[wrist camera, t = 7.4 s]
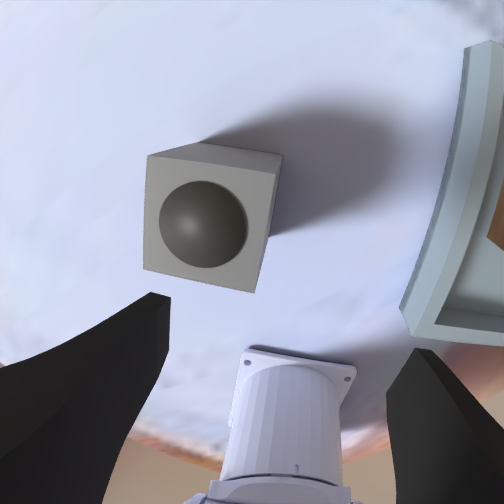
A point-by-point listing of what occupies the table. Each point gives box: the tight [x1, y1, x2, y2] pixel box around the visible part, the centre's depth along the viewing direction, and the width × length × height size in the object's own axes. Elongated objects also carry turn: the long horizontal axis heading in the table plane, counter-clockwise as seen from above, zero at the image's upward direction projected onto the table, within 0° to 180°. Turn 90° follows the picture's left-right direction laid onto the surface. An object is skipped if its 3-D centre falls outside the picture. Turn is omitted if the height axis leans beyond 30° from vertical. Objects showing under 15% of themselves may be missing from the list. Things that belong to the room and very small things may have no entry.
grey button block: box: [143, 142, 283, 293], centre depth 14 cm, size 4×4×6 cm
